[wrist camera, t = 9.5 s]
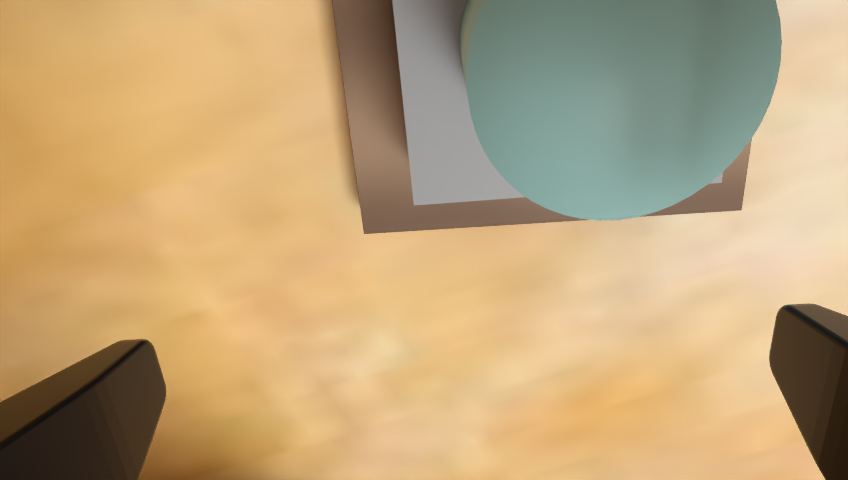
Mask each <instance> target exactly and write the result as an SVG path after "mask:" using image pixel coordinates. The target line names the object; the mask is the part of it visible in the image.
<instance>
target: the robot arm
mask: <svg viewBox="0 0 848 480" xmlns="http://www.w3.org/2000/svg"><path fill="white" fill-rule="evenodd" d="M769 360H770V367H771V370H772V373H773V375H774V377H775V379H776V382H777V384H778V386H779V388H780V390H781V392H782V394H783V396H784V398H785V400H786V402H787V405H788V407H789V409H790V411H791V413H792V415H793V417H794V419H795V421H796V423H797V425H798V428H799V430H800V432H801V434H802V436H803V438H804V440H805V442H806V444H807V446H808V448H809V450H810V452H811V454H812V456H813V458H814V460H815V462H816V464H817V466H818V468H819V469H820V471H821V473H822V474H823V476H824V478H825V479H826V480H848V316H846V315H843V314H841V313H838V312H835V311H832V310H830V309H827V308H824V307H822V306H819V305H816V304H792V305H784V306H783V307H782V308H780V309H779V311H778V313H777V316H776V321H775V327H774V332H773V338H772V343H771V349H770V356H769ZM165 398H166V386H165V381H164V378H163V375H162V372H161V368H160V365H159V362H158V358H157V355H156V352H155V349H154V346H153V345H152V343H151V342H149V341H148V340H146V339H137V340H122V341H118V342H116V343H114V344H112V345H110V346H108V347H107V348H105V349H103V350H101V351H99V352H97V353H95V354H93V355H91V356H89V357H87V358H85V359H83V360H81V361H79V362H77V363H75V364H74V365H72V366H70V367H68V368H66V369H64V370H62V371H60V372H58V373H56V374H54V375H52V376H50V377H48V378H46V379H44V380H42V381H41V382H39V383H37V384H35V385H33V386H31V387H29V388H27V389H25V390H23V391H21V392H19V393H17V394H15V395H13V396H11V397H10V398H8V399H6V400H4V401H2V402H0V480H139V477H140V474H141V471H142V468H143V465H144V462H145V459H146V456H147V453H148V450H149V447H150V445H151V442H152V439H153V436H154V433H155V430H156V427H157V424H158V421H159V418H160V415H161V412H162V409H163V406H164V403H165Z"/></svg>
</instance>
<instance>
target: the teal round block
mask: <svg viewBox="0 0 848 480" xmlns="http://www.w3.org/2000/svg"><path fill="white" fill-rule="evenodd" d="M781 43H782V40H781V27H780V18H779V14H778V9H777V5H776V0H467V3H466V5H465V9H464V13H463V17H462V22H461V31H460V52H461V58H462V65H463V71H464V77H465V83H466V89H467V95H468V102H469V108H470V114H471V118H472V121H473V125H474V128H475V132H476V135H477V137H478V139H479V141H480V144H481V146H482V148H483V150H484V152H485V154H486V155H487V157H488V158H489V160H490V162H491V163H492V165H493V166H494V167H495V169H496V170H497V171H498V172H499V173H500V175H501V176H502V177H503V178H504V179H505V180H506V181H507V182H508V183H509V184H510V185H511V186H512V187H513V188H514V189H516V190H517V191H518V192H519V193H521V194H522V195H524V196H525V197H526V198H528V199H529V200H531V201H532V202H534V203H536V204H538V205H540V206H542V207H544V208H546V209H548V210H551V211H554V212H557V213H560V214H563V215H566V216H571V217H575V218H580V219H589V220H621V219H627V218H634V217H639V216H643V215H647V214H650V213H654V212H657V211H659V210H662V209H665V208H667V207H670V206H672V205H674V204H676V203H678V202H680V201H682V200H684V199H686V198H688V197H690V196H691V195H693V194H694V193H696V192H697V191H699V190H700V189H702V188H703V187H705V186H706V185H708V184H709V183H710V182H711V181H713V180H714V179H715V178H716V177H717V176H719V175H720V174H721V173H722V172H723V171H724V170H725V169H726V168H727V167H728V166H729V165H730V164H731V163H732V162H733V161H734V160H735V159H736V158H737V157H738V155H739V154H740V153H741V152H742V150H743V149H744V148H745V146H746V145H747V144H748V142H749V141H750V140H751V138H752V136H753V135H754V133H755V131H756V130H757V128H758V127H759V125H760V123H761V121H762V119H763V117H764V115H765V113H766V110H767V108H768V106H769V104H770V101H771V98H772V95H773V92H774V89H775V86H776V82H777V77H778V72H779V67H780V60H781Z"/></svg>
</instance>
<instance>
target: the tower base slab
mask: <svg viewBox="0 0 848 480" xmlns="http://www.w3.org/2000/svg"><path fill="white" fill-rule="evenodd" d="M332 4H333V11H334V18H335V25H336V33H337V40H338V47H339V55H340V62H341V69H342V76H343V84H344V91H345V98H346V106H347V113H348V120H349V127H350V135H351V142H352V149H353V157H354V164H355V171H356V178H357V186H358V193H359V200H360V208H361V215H362V222H363V230H364V234H370V233H386V232H402V231H418V230H434V229H450V228H466V227H482V226H498V225H514V224H530V223H546V222H562V221H578V220H589V219H580V218H575V217H571V216H566V215H563V214H560V213H557V212H554V211H551V210H548V209H546V208H544V207H542V206H540V205H538V204H536V203H534V202H532V201H531V200H529V199H528V198H526V197H522V198H508V199H495V200H481V201H468V202H454V203H441V204H427V205H414V202H413V193H412V183H411V174H410V164H409V155H408V145H407V136H406V126H405V117H404V107H403V98H402V88H401V78H400V69H399V59H398V50H397V40H396V31H395V21H394V12H393V2H392V0H332ZM751 140H752V138H751ZM751 140H750V141H749V142H748V144H747V145H746V146H745V148H744V149H743V150H742V152H741V153H740V154H739V155H738V157H737V158H736V159H735V160H734V161H733V162H732V163H731V164H730V165H729V166H728V167H727V168H726V169H725V170H724V171H723V177H722V183H712V184H708V185H706V186H705V187H703V188H702V189H700V190H699V191H697V192H696V193H694V194H693V195H691V196H690V197H688V198H686V199H684V200H682V201H680V202H678V203H676V204H674V205H672V206H670V207H667V208H665V209H662V210H659V211H657V212H654V213H650V214H647V215H643V216H657V215H673V214H689V213H705V212H721V211H737V210H741V209H742V202H743V195H744V188H745V182H746V175H747V168H748V161H749V154H750V147H751ZM639 217H641V216H639Z"/></svg>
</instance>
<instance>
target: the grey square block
mask: <svg viewBox="0 0 848 480" xmlns="http://www.w3.org/2000/svg"><path fill="white" fill-rule="evenodd" d="M392 2H393V12H394V21H395V31H396V40H397V50H398V59H399V69H400V78H401V88H402V98H403V107H404V117H405V126H406V136H407V145H408V155H409V164H410V174H411V183H412V193H413V202H414V205H427V204H441V203H454V202H468V201H481V200H495V199H508V198H522V197H525V196H524V195H522V194H521V193H519V192H518V191H517V190H516V189H514V188H513V187H512V186H511V185H510V184H509V183H508V182H507V181H506V180H505V179H504V178H503V177H502V176H501V175H500V173H499V172H498V171H497V170H496V169H495V167H494V166H493V165H492V163H491V162H490V160H489V158H488V157H487V155H486V154H485V152H484V150H483V148H482V146H481V144H480V141H479V139H478V137H477V135H476V132H475V128H474V125H473V121H472V118H471V114H470V108H469V102H468V95H467V89H466V83H465V77H464V71H463V65H462V58H461V52H460V31H461V22H462V17H463V13H464V9H465V5H466V3H467V0H392ZM722 177H723V172H722V173H721V174H720V175H719V176H717V177H716V178H715V179H714V180H713V181H711V182H710V183H709V184H712V183H722Z"/></svg>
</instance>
